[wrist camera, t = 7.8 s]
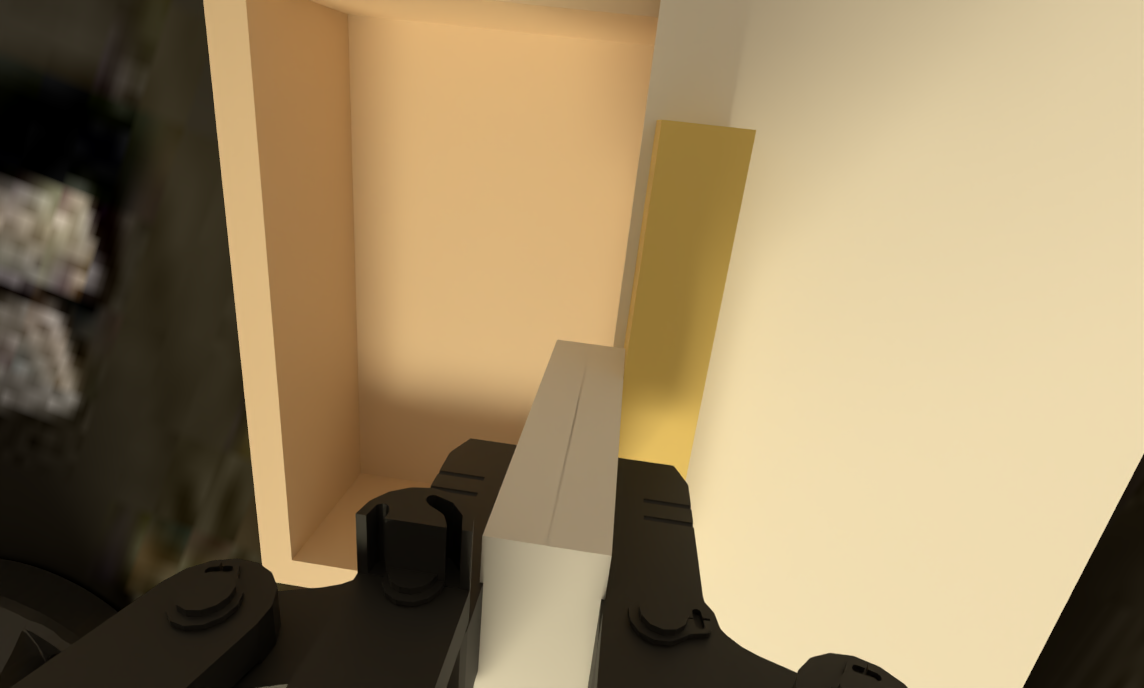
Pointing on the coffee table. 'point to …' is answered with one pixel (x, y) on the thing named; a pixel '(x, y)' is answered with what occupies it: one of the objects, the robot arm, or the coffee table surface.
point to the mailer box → (413, 232)
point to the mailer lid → (891, 316)
